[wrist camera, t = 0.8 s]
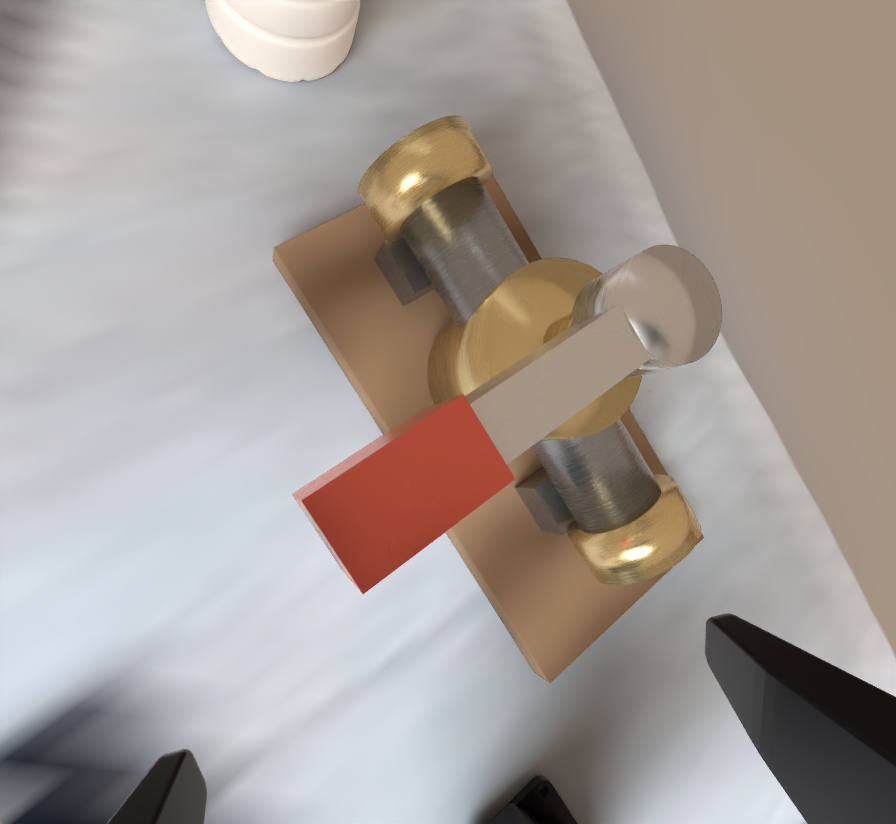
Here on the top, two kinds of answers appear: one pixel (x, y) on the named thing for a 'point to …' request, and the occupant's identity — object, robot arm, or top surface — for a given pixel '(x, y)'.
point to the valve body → (520, 349)
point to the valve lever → (509, 414)
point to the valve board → (406, 393)
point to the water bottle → (286, 34)
